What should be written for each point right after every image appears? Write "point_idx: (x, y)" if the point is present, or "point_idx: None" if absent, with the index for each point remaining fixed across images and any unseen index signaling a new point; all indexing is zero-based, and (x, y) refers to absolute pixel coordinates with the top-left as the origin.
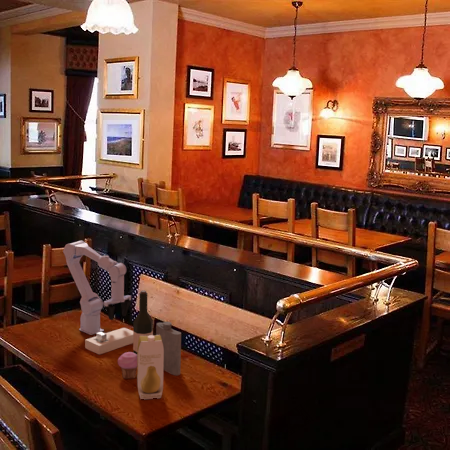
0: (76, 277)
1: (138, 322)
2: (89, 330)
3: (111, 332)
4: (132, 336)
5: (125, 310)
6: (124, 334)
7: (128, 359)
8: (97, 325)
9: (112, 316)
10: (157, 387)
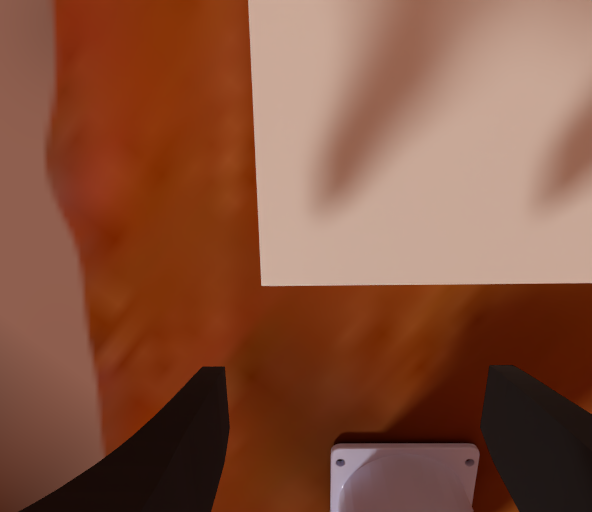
0: None
1: None
2: (466, 494)
3: (480, 259)
4: None
5: (190, 440)
6: (421, 86)
7: None
8: (414, 503)
9: (556, 397)
10: None
